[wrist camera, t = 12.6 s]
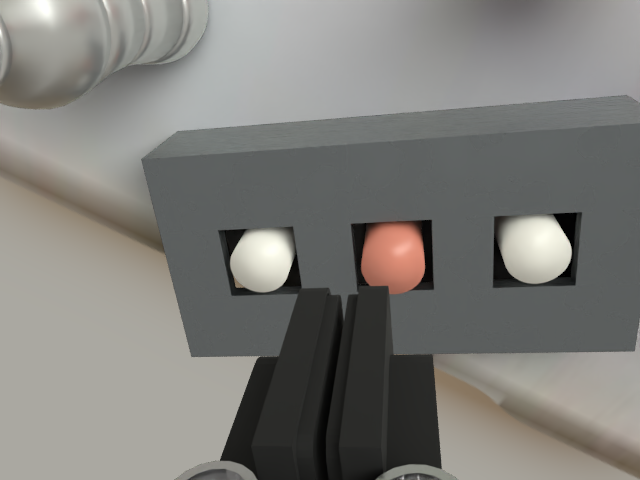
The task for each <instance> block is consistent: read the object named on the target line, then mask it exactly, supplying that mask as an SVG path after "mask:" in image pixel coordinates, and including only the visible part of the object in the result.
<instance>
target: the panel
mask: <svg viewBox="0 0 640 480" xmlns="http://www.w3.org/2000/svg"><path fill="white" fill-rule="evenodd" d="M141 160H142V164H143V168H144V172H145V176H146V180H147V184H148V188H149V192H150V196H151V200H152V204H153V207H154V211H155V215H156V219H157V223H158V227H159V231H160V235H161V239H162V243H163V247H164V251H165V255H166V258H167V262H168V266H169V270H170V274H171V278H172V282H173V286H174V290H175V293H176V297H177V301H178V305H179V309H180V313H181V317H182V321H183V325H184V329H185V332H186V337H187V341H188V345H189V349H190V352H191V356H192V357H216V356H218V357H219V356H279V354H280V351H281V348H282V344H283V341H284V338H285V335H286V331H287V328H288V325H289V322H290V318H291V315H292V312H293V309H294V305H295V302H296V299H297V296H298V292H299V290H300V289H301V288H329V289H330V292H331V295H340V296H341V300H342V309H343V318H345V312H346V306H347V299H348V295H349V294H358V292H359V287H360V286H370V285H369V284H358V274H357V263H356V253H355V242H354V232H353V224H354V223H374V222H394V221H414V220H431V228H432V260H433V281H432V282H419V283H418V285H417V286H415V287H414V288H413V289H411V290H409V291H407V292H404V293H401V294H389V296H390V310H391V325H392V339H393V353H394V354H459V353H539V352H618V351H635V346H636V339H637V332H638V326H639V319H640V103H639V102H637V101H635V100H634V99H632V98H630V97H629V96H627V95H625V96H612V97H600V98H587V99H575V100H563V101H550V102H538V103H525V104H513V105H500V106H488V107H476V108H463V109H451V110H438V111H426V112H413V113H401V114H389V115H376V116H364V117H351V118H339V119H326V120H314V121H301V122H289V123H277V124H264V125H252V126H239V127H227V128H214V129H202V130H190V131H178V132H176V133H175V134H174V135H172V136H171V137H170V138H168V139H167V140H166V141H165V142H163V143H162V144H161V145H159V146H158V147H157V148H155V149H154V150H153V151H152V152H150V153H149V154H148V155H146V156H145V157H144V158H142V159H141ZM574 212H577V213H576V225H575V236H574V248H573V259H572V271H571V277H556V278H554V279H553V280H550V281H548V282H544V283H538V284H531V283H525V282H522V281H520V280H518V279H493V254H494V216H514V215H534V214H554V213H574ZM274 227H293V229H294V236H295V243H296V250H297V257H298V264H299V271H300V278H301V285H302V286H280V287H279V288H278V289H276V290H273V291H270V292H255V291H252V290H249V289H247V288H236V287H235V282H234V278H233V273H232V271H231V267H230V257H229V252H228V247H227V242H226V237H225V232H224V230H234V229H254V228H274Z"/></svg>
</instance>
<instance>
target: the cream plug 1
mask: <svg viewBox="0 0 640 480" xmlns="http://www.w3.org/2000/svg"><path fill="white" fill-rule="evenodd" d="M296 251H297V250H296V243H295V236H294V229H293V227H274V228H254V229H246V230H245V232H244V234H243V236H242V237H241V239H240V241H239V242H238V244H237V246H236V248H235V249H234V251H233V253H232V255H231V259H230V267H231V271H232V273H233V275H234V277H235V279H236V280H237V281H238V282H239V283H240V284H241V285H242V286H244V287H245V288H247V289H249V290H252V291H255V292H270V291H273V290H276V289H278V288H279V287H280V286H282V285H283V283H284V282H285V281H286V279H287V276H288V274H289V271H290V268H291V265H292V263H293V260H294V257H295V254H296Z"/></svg>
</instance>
